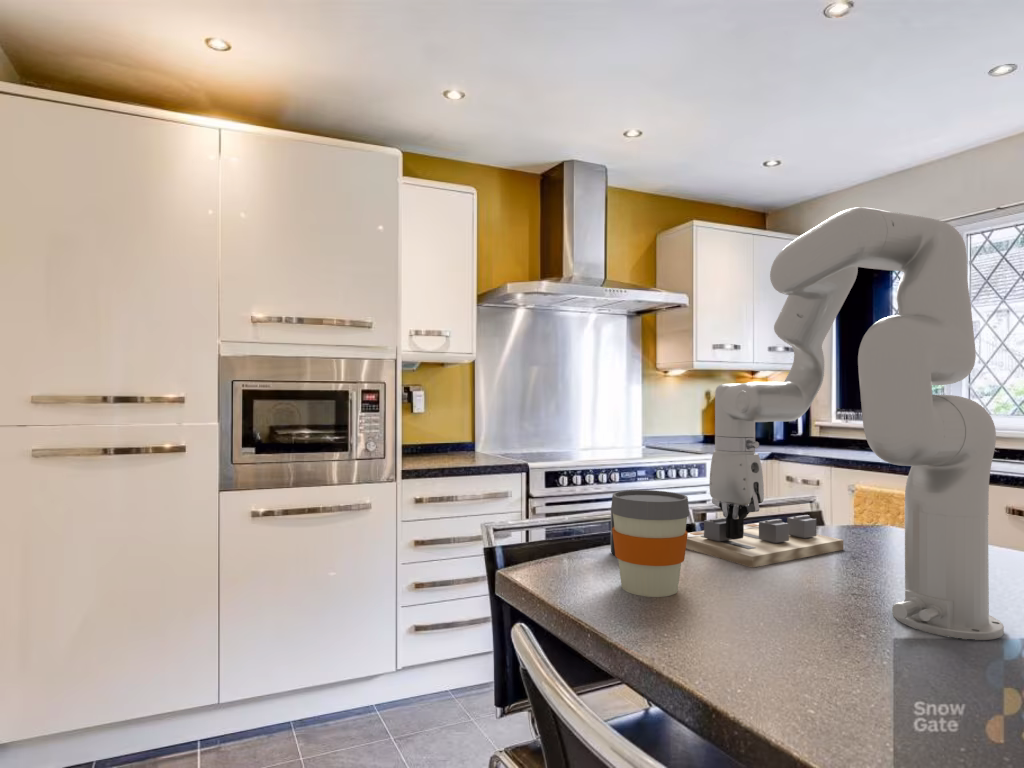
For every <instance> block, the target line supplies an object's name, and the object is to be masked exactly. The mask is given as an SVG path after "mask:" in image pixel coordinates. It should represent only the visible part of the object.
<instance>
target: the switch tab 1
mask: <svg viewBox="0 0 1024 768" xmlns="http://www.w3.org/2000/svg"><path fill="white" fill-rule="evenodd" d="M703 531H704V538H708V539H711V540H715V541H719V542H720V541H726V540H732V539H731V538H726V518H725V517H718V518H717V517H716V518H710V519H704V520H703Z"/></svg>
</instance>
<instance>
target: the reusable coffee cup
mask: <svg viewBox="0 0 1024 768" xmlns="http://www.w3.org/2000/svg"><path fill="white" fill-rule="evenodd" d="M611 512H612V513H613V519H614V527H613V528H612V532H613V540H614V549H615V556H614V557H616V559H617V560H618V567H619V577H620V584H621V585H620V586H621V588H622V590H623V591H625V592H627V593H629V594H632V595H635V596H636V595H637V596H640V597H649V598H660V597H661V598H663V597H669V596H673V595H675V594H677V593H678V591H679V583H680V574H681V567H682V563H683V562H684V561H685V557H686V549H687V548H686V543H687V536H688V533H689V532H688V531H687V530H686V529H687V523H688V517H690V507H689V498H688V496H687V495H685V494H682V493H678V492H673V491H664V490H663V491H662V490H650V489H649V490H648V489H634V490H633V489H632V490H621V491H620V490H619V491H615V492H614V493H612V499H611V505H610V513H611Z"/></svg>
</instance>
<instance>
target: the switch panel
mask: <svg viewBox="0 0 1024 768" xmlns="http://www.w3.org/2000/svg"><path fill="white" fill-rule="evenodd" d="M687 533H688V536H687V543H686V549H688V550H690V551H693V550H694V552H697V553H700V554H704V555H708V556H710V557H711V556H712V557H714V558H718V559H720V560H721V559H722V560H725V561H727V562H728V561H729V562H731V563H735V564H738V565H742V566H746V567H748V568H749V567H750V568H751V569H752V568H757V567H762V566H767V565H773V564H778V563H782V562H787V561H792V560H793V561H794V560H798V559H802V558H807V557H813V556H818V555H819V556H820V555H823V554H828V553H832V552H834V553H835V552H839V551H843V550H844V539H842V538H837V537H831V536H828V535H821V534H819V533H818V534H817V533H816V536H814V537H808V538H801V537H797V536H792V535H789V541H785V542H779V543H773V542H769V541H765V540H761V539H759V522H754V523H747V524H744V533H743V538H741V539H734V540H733V539H732V540H726V541H720V542H719V541H715V540H711V539H708V538H704V530H698V531H692V532H687Z"/></svg>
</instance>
